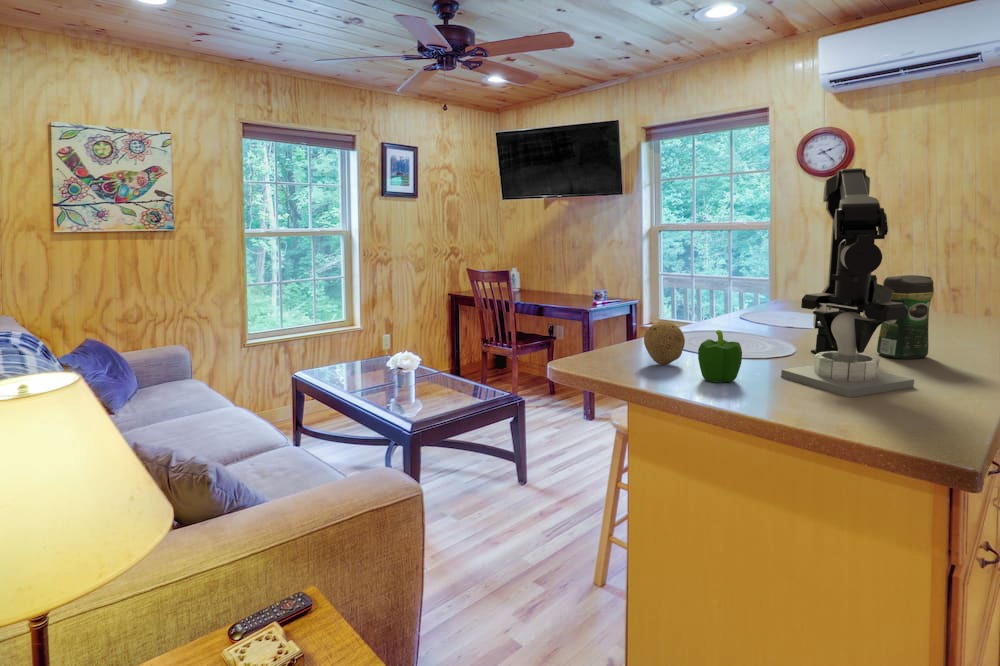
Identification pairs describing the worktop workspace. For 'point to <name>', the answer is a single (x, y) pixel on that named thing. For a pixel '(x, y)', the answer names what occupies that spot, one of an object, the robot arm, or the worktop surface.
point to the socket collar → (846, 367)
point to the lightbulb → (845, 335)
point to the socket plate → (848, 382)
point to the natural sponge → (664, 342)
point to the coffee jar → (912, 332)
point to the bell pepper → (719, 359)
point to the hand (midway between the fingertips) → (847, 349)
